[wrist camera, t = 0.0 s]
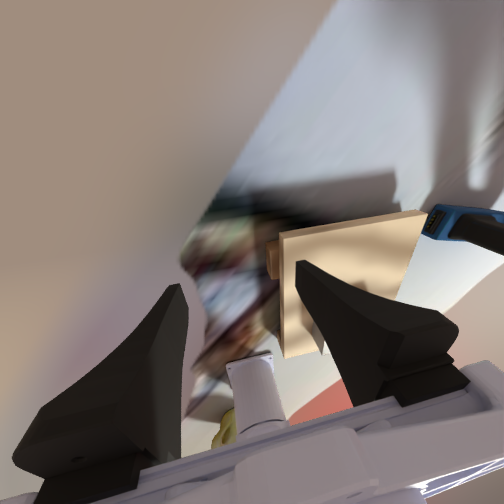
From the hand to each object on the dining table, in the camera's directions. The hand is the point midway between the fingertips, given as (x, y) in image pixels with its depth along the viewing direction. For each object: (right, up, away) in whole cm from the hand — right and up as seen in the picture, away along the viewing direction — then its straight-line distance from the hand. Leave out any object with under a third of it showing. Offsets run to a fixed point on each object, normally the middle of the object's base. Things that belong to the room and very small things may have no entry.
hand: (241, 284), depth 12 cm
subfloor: (+12, -2, +16) cm, 20 cm away
